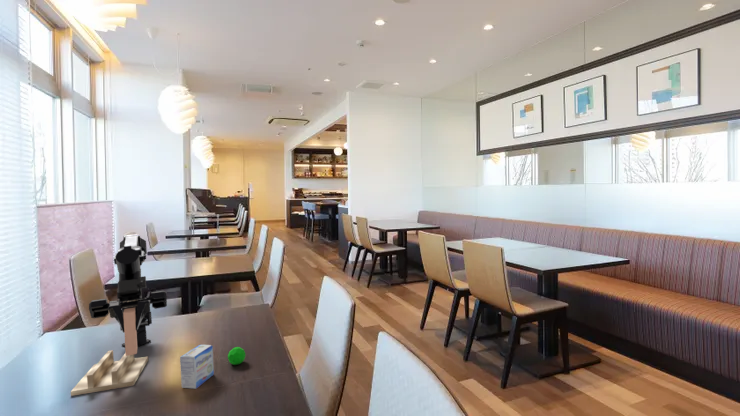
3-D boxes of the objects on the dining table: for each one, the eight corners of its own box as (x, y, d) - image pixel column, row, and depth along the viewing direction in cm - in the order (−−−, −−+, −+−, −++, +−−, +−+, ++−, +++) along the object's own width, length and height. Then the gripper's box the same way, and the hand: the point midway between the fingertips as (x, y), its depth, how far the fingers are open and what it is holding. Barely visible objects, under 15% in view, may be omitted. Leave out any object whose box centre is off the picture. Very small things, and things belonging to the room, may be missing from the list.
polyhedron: (249, 361, 112) (248, 345, 112) (238, 368, 107) (238, 352, 107) (235, 359, 113) (234, 344, 113) (224, 366, 109) (223, 350, 109)
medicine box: (195, 389, 96) (194, 357, 96) (180, 388, 97) (179, 356, 97) (214, 374, 104) (213, 344, 103) (200, 373, 105) (199, 343, 104)
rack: (94, 368, 110) (93, 352, 109) (148, 360, 114) (147, 345, 114) (70, 396, 94) (69, 378, 94) (133, 385, 99) (132, 368, 99)
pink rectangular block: (126, 350, 105) (124, 308, 105) (137, 347, 107) (135, 307, 106) (125, 356, 101) (123, 313, 101) (136, 353, 103) (134, 311, 102)
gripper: (87, 272, 101) (83, 323, 93) (164, 264, 111) (167, 310, 102) (93, 293, 109) (90, 343, 100) (165, 284, 118) (168, 328, 109)
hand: (130, 330), depth 102 cm, fingers closed on pink rectangular block, 3 cm apart
